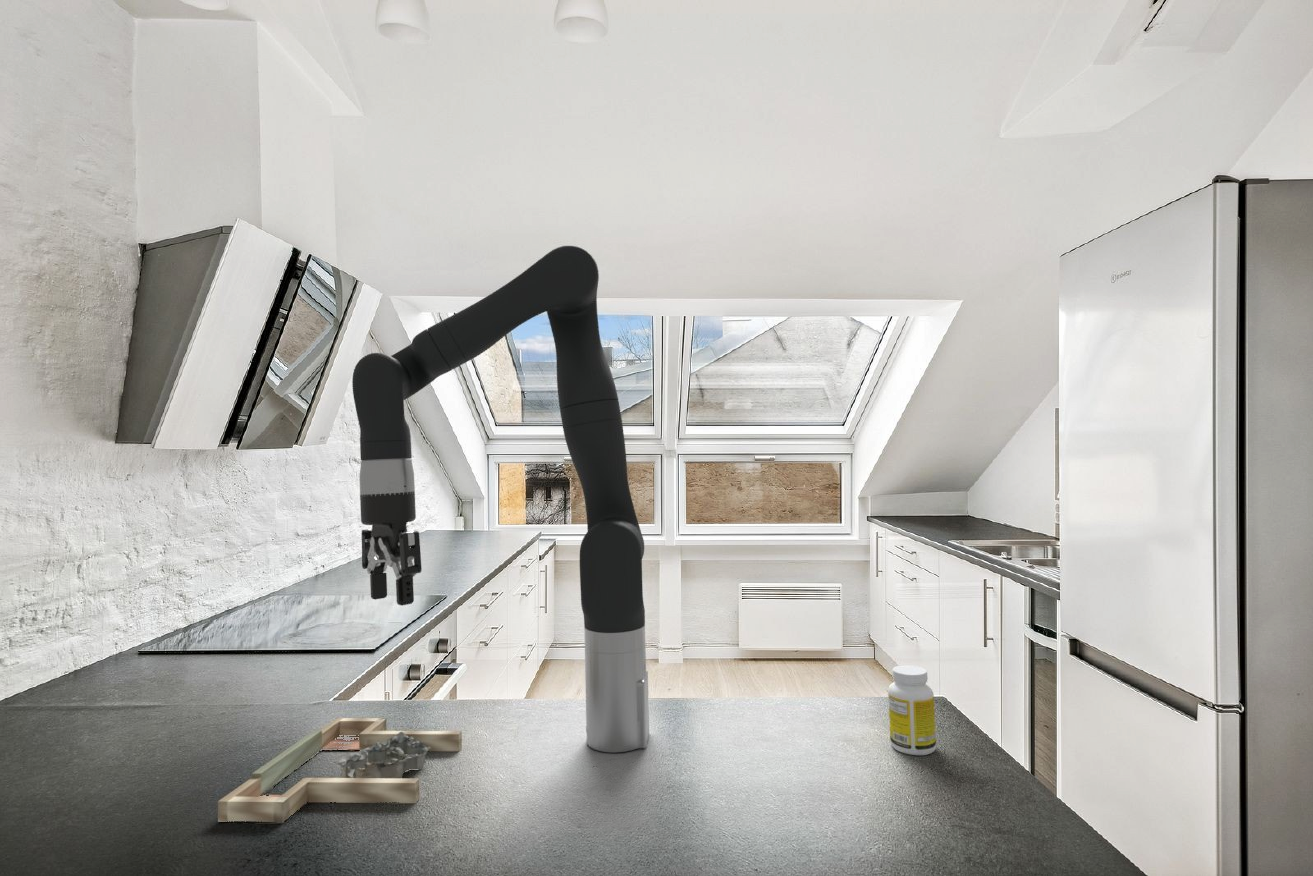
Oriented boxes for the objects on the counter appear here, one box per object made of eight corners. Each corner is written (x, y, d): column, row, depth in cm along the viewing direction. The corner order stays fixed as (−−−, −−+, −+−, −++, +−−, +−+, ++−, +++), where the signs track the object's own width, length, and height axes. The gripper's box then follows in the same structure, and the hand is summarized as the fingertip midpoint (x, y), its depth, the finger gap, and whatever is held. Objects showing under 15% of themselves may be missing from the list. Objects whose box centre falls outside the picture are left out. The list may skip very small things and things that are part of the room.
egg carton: (362, 799, 87) (362, 766, 87) (332, 783, 92) (332, 752, 92) (434, 767, 96) (433, 738, 96) (403, 754, 100) (403, 726, 100)
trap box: (473, 734, 106) (473, 715, 107) (397, 824, 80) (397, 798, 80) (336, 734, 108) (336, 715, 108) (217, 822, 82) (217, 797, 82)
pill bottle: (935, 741, 100) (932, 665, 100) (937, 759, 94) (934, 678, 94) (890, 736, 102) (887, 662, 102) (890, 754, 96) (887, 674, 96)
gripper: (435, 488, 98) (439, 602, 97) (390, 489, 108) (394, 592, 107) (384, 492, 93) (388, 612, 92) (342, 492, 102) (346, 601, 102)
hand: (391, 601), depth 100 cm, fingers open, 8 cm apart
